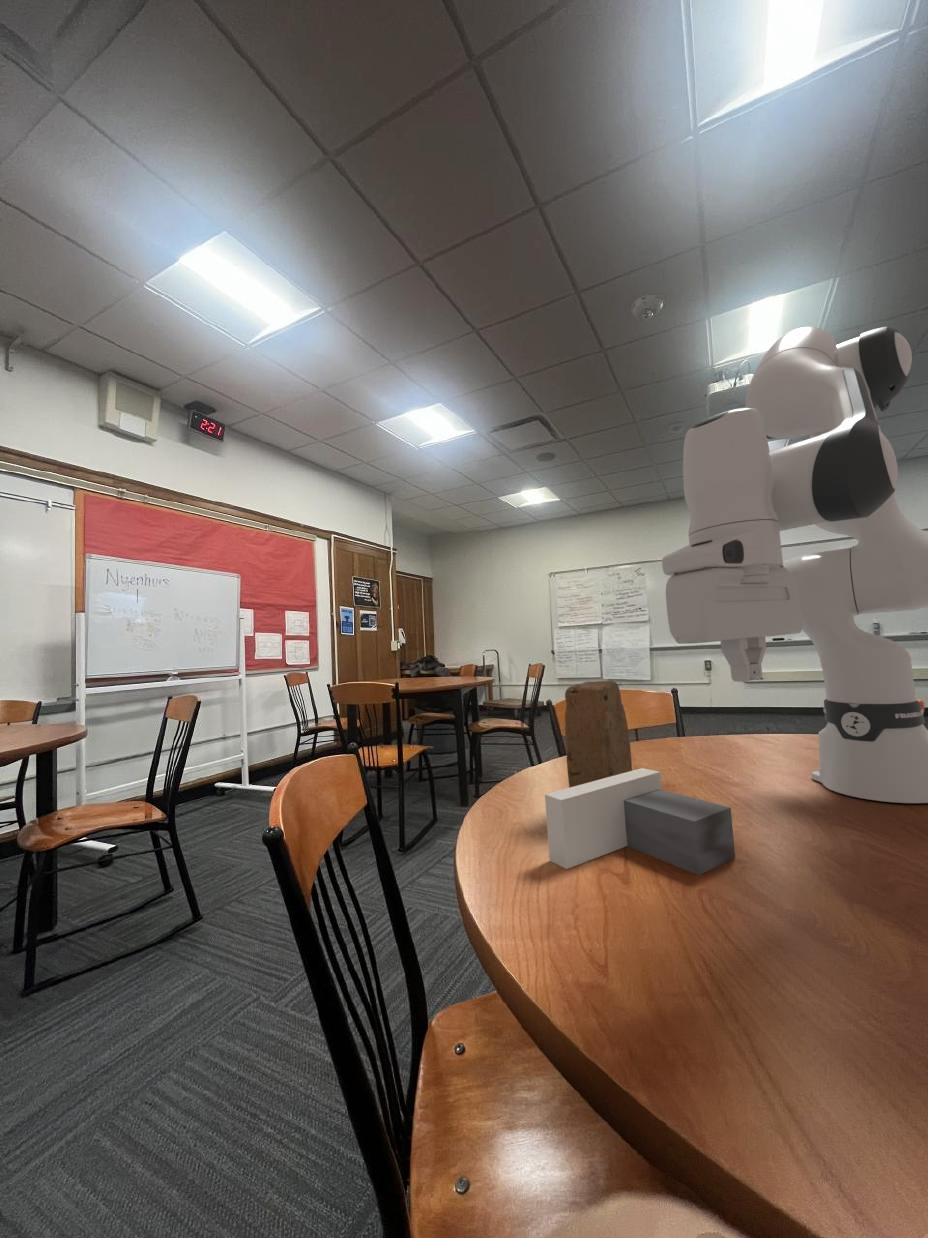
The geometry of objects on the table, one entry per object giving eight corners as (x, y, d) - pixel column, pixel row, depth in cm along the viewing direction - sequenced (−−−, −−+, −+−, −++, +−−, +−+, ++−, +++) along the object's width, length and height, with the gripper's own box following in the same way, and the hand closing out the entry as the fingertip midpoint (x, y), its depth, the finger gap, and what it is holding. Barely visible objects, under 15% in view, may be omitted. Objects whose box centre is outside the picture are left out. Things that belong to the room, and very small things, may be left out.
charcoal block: (662, 834, 66) (659, 789, 66) (735, 859, 57) (730, 807, 58) (627, 847, 62) (623, 800, 63) (699, 876, 54) (694, 821, 54)
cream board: (647, 825, 69) (642, 768, 69) (665, 831, 66) (660, 771, 67) (549, 860, 60) (544, 794, 60) (566, 869, 57) (561, 800, 57)
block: (611, 824, 70) (600, 685, 71) (565, 815, 75) (556, 685, 76) (641, 803, 78) (631, 678, 79) (598, 796, 83) (589, 679, 84)
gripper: (757, 563, 62) (768, 671, 61) (650, 559, 52) (663, 689, 51) (812, 553, 57) (825, 672, 56) (706, 546, 46) (720, 692, 45)
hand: (747, 680), depth 53 cm, fingers closed
